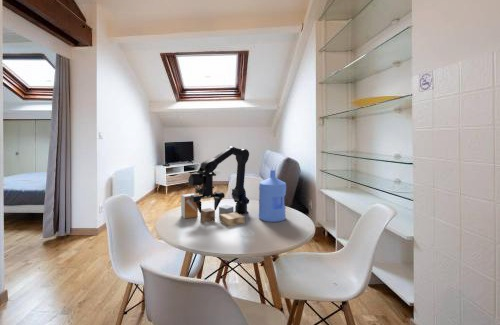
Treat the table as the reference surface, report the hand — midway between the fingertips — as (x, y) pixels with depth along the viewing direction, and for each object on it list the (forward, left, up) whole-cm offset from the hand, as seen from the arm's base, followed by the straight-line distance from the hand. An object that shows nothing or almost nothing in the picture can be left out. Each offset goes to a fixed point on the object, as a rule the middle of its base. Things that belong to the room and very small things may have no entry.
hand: (207, 211), depth 144 cm
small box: (+6, -12, -5) cm, 14 cm away
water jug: (-33, +17, -5) cm, 37 cm away
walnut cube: (0, 0, -5) cm, 5 cm away
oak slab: (-10, +10, -5) cm, 15 cm away
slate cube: (-12, 0, -5) cm, 13 cm away
